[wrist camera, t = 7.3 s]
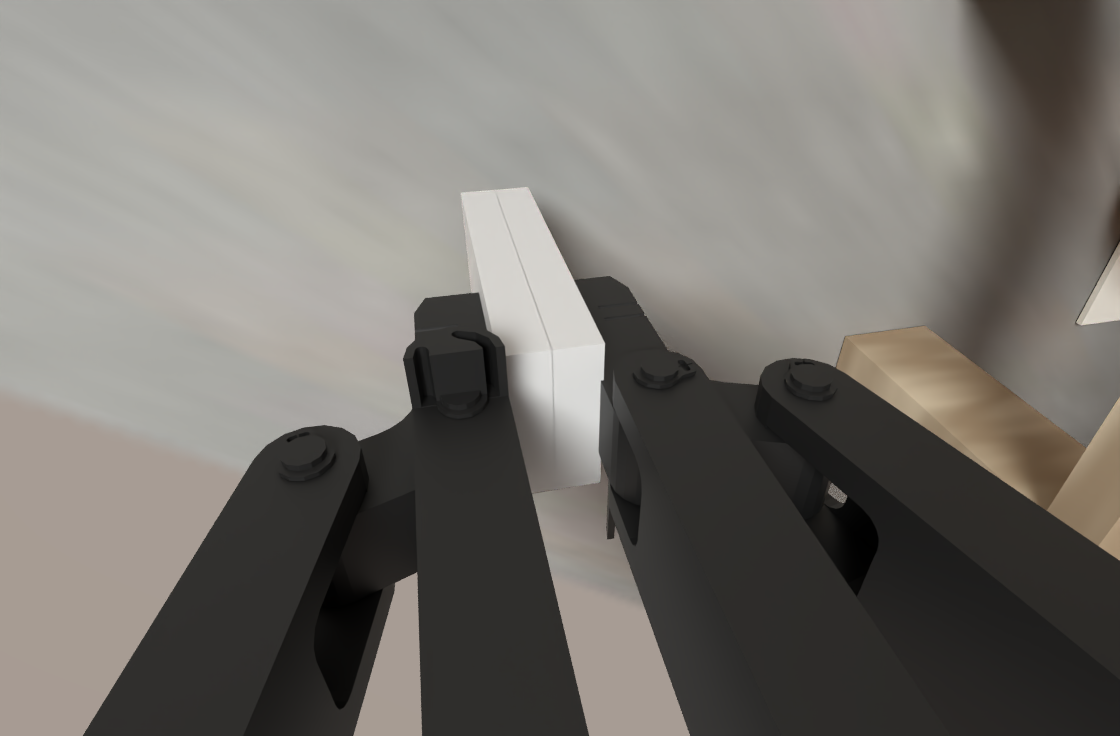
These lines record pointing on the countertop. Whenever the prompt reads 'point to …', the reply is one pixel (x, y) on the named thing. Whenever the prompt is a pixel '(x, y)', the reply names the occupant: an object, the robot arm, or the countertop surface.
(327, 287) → the countertop surface
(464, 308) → the robot arm
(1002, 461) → the bridge
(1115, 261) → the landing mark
